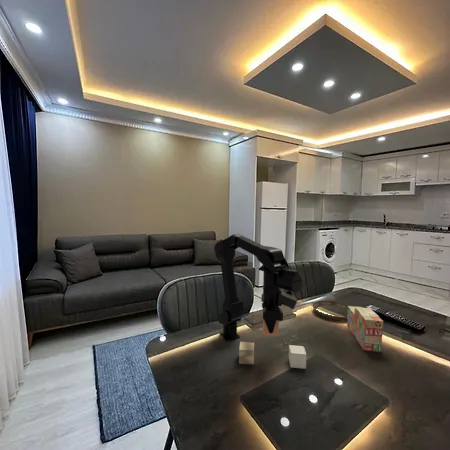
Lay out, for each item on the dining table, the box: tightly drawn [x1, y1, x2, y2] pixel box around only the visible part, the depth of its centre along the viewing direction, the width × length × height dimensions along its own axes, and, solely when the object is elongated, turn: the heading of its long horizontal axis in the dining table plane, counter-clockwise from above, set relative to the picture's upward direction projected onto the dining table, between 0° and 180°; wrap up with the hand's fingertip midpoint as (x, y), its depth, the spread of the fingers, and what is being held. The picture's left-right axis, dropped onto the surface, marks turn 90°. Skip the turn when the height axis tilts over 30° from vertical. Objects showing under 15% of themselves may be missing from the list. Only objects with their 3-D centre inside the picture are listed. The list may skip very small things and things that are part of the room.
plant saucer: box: [312, 300, 350, 321], centre depth 129 cm, size 21×21×3 cm
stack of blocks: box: [346, 305, 384, 353], centre depth 104 cm, size 21×6×12 cm, turn 170°
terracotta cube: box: [262, 318, 280, 337], centre depth 87 cm, size 5×5×5 cm
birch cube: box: [238, 341, 255, 366], centre depth 88 cm, size 5×5×5 cm
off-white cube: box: [288, 344, 307, 369], centre depth 86 cm, size 5×5×5 cm
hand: (270, 329), depth 87 cm, fingers closed on terracotta cube, 5 cm apart
